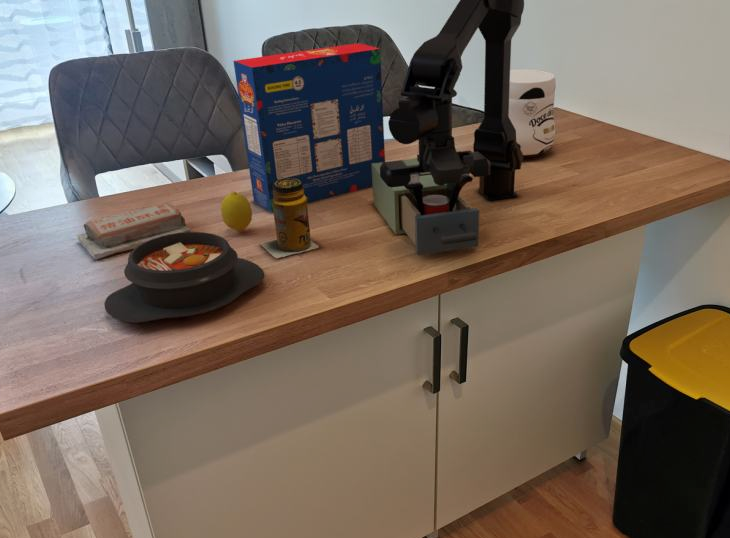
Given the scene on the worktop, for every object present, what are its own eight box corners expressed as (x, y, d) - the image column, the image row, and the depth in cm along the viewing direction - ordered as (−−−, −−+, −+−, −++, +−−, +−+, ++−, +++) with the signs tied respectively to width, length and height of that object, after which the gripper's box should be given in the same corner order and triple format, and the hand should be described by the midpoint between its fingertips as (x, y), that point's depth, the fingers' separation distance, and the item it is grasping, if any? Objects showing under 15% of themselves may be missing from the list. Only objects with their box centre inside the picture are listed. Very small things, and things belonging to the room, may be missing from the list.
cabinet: (458, 225, 140) (459, 182, 135) (395, 234, 136) (394, 191, 132) (431, 196, 153) (431, 156, 148) (373, 204, 150) (371, 163, 145)
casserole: (133, 349, 103) (119, 297, 99) (90, 301, 115) (76, 253, 111) (287, 295, 116) (281, 247, 112) (234, 257, 129) (226, 212, 124)
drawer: (490, 259, 125) (491, 222, 121) (427, 269, 122) (427, 231, 118) (449, 215, 142) (449, 181, 138) (393, 222, 139) (391, 188, 135)
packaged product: (166, 196, 141) (187, 211, 135) (171, 219, 144) (192, 235, 137) (70, 218, 132) (88, 236, 125) (78, 243, 134) (95, 261, 128)
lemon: (259, 228, 140) (254, 188, 135) (244, 239, 135) (238, 198, 131) (235, 224, 141) (228, 185, 137) (219, 235, 137) (212, 195, 133)
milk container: (558, 163, 171) (565, 83, 161) (484, 163, 171) (487, 84, 161) (548, 141, 185) (554, 67, 176) (481, 141, 186) (483, 68, 176)
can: (453, 230, 131) (453, 203, 128) (426, 234, 130) (426, 206, 127) (444, 220, 135) (444, 193, 133) (418, 223, 134) (417, 196, 131)
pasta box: (366, 173, 166) (358, 43, 151) (386, 182, 160) (380, 48, 146) (253, 201, 152) (233, 60, 137) (271, 212, 146) (252, 67, 131)
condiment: (319, 248, 132) (313, 184, 125) (276, 259, 128) (267, 194, 121) (302, 234, 137) (295, 173, 130) (260, 245, 133) (251, 182, 127)
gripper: (395, 147, 114) (398, 239, 123) (504, 135, 119) (500, 224, 127) (377, 129, 123) (381, 215, 131) (479, 118, 128) (477, 202, 136)
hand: (435, 215), depth 131 cm, fingers closed on can, 5 cm apart
